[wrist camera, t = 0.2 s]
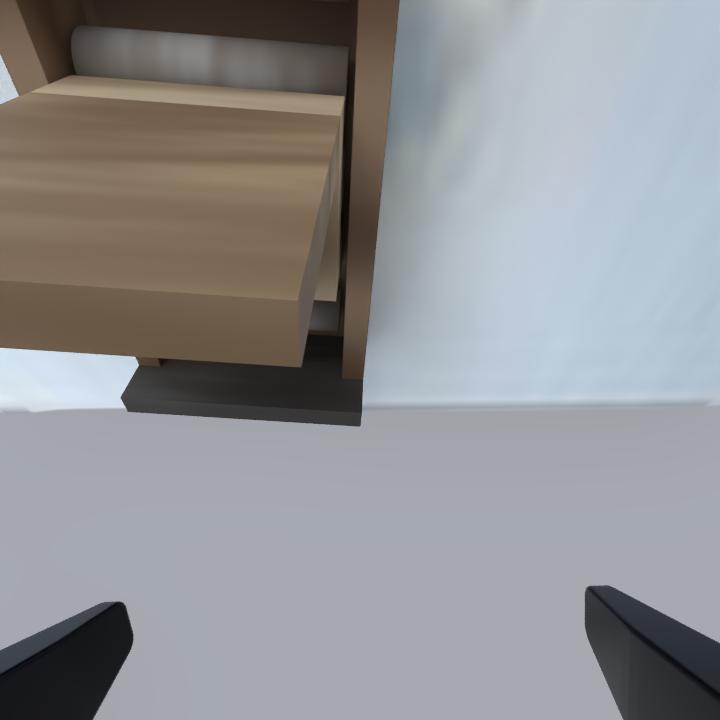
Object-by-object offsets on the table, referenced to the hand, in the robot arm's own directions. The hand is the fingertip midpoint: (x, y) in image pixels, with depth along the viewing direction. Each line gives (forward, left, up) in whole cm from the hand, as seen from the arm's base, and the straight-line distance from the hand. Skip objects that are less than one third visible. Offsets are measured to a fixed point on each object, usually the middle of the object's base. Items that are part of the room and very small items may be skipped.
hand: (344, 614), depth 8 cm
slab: (-5, -2, -12) cm, 13 cm away
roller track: (-4, -3, -15) cm, 16 cm away
